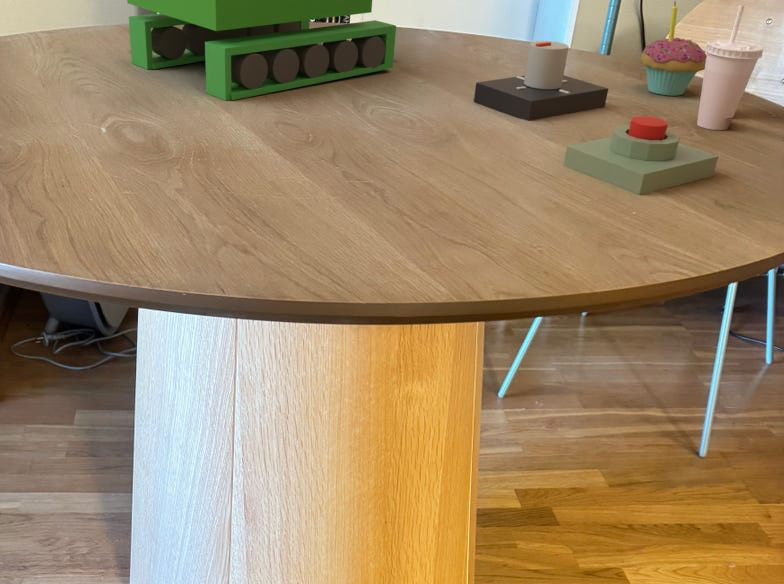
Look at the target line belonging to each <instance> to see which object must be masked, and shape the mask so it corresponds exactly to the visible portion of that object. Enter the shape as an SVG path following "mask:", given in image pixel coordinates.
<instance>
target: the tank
mask: <svg viewBox="0 0 784 584" xmlns="http://www.w3.org/2000/svg"><path fill="white" fill-rule="evenodd" d="M126 3H127V4H128V5H129V4H130V5H131V6H132V5H133V6H135V7H138V8H140V9H141V8H142V9H144V10H148V11H150V12H153V13H150V14H143V15H142V14H140V15H131V16H128V27H129V38H130V39H129V41H130V43H129V44H130V53H131V54H130V55H131V56H130V57H131V64H133V65H135V66H137V67H140V68H143V69H145V70H152V69H153V70H156V69H163V68H169V67H175V66H181V65H188V64H193V63H199V62H204V63H205V93H206V94H208V95H211V96H213V97H215V98H218V99H221V100H223V101H231V100H232V101H236V100H240V99H246V98H251V97H255V96H259V95H265V94H271V93H275V92H276V93H277V92H281V91H285V90H289V89H291V90H292V89H295V88H300V87H305V86H310V85H316V84H321V83H324V82H325V83H326V82H330V81H334V80H335V81H336V80H340V79H344V78H345V79H346V78H350V77H354V76H355V77H356V76H360V75H365V74H371V73H376V72H380V71H385V70H391V69H393V68H394V56H395V46H396V45H395V44H396V34H397V25H396V24H391V23H388V22H383V21H380V20H374V19H373V20H367V21H359V22H351V23H341V24H335V25H327V26H320V27H311V28H310V21H312V20H320V19H326V18H327V19H329V18H337V17H346V16H353V15H362V14H371V13H372V9H373V0H126ZM177 26H182V28H180V27H177ZM290 48H292V49H290ZM259 52H261V53H259ZM153 53H154V55H153Z"/></svg>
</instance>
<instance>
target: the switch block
mask: <svg viewBox="0 0 784 584" xmlns="http://www.w3.org/2000/svg"><path fill="white" fill-rule="evenodd" d="M629 128H630V124H625V125H621V126H616V127H615V129H614V130H613V131H612V136H609V137H604V138H599V139H595V140H594V139H593V140H590V141H584V142H580V143H575V144H569V145H566V149H565V156H564V160H563V166H564V167H566V168H569V169H571V170H574V171H576V172H579V173H582V174H585V175H587V176H590V177H592V178H594V179H597V180H600V181H603V182H604V183H606V184H607V183H608V184H610V185H612V186H615V187H617V188H620V189H623V190H625V191H628V192H630V193H633V194H635V195H638V196H642V195H645V194H649V193H653V192H657V191H661V190H664V189H668V188H672V187H676V186H679V185H684V184H688V183H691V182H696V181H700V180H703V179H708V178H711V177H713V176H714V175H715V174H714V173H715V170H716V167H717V163H718V160H719V155H716V154H713V153H711V152H707V151H703V150H701V149H698V148H695V147H692V146H688V145H685V144H682V143H680V139H681V137H680V136H679V135H678V134H676V133H675V132H673V131H671V130H668V129H666V133H665V137H664V140H645V139H639V138H635V137H633V136H630V135H628V132H629Z"/></svg>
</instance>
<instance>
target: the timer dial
mask: <svg viewBox="0 0 784 584" xmlns="http://www.w3.org/2000/svg"><path fill="white" fill-rule="evenodd" d="M568 53H569V44H566V43H563V42H559V41H553V40H551V41H550V40H534V41H530V43H529V47H528V54H527V60H526V66H525V73H524V76H525V78H524V84H525V85H526V86H529V87H532V88H537V89H547V90H551V89H558V88H561V86H562V81H563V75H564V76H565V70H566V63H567V58H568Z"/></svg>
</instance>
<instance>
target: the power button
mask: <svg viewBox="0 0 784 584" xmlns="http://www.w3.org/2000/svg"><path fill="white" fill-rule="evenodd" d="M629 125H630V128H629V132H628V135H630V136H633V137H635V138H639V139H645V140H664V137H665V133H666V130H668V125H669V123H668V122H667V121H666V120H664V119H662V118H658V117H653V116H647V115H646V116H645V115H642V116H641V115H639V116H634V117H632V118H631V120H630V124H629Z"/></svg>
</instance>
